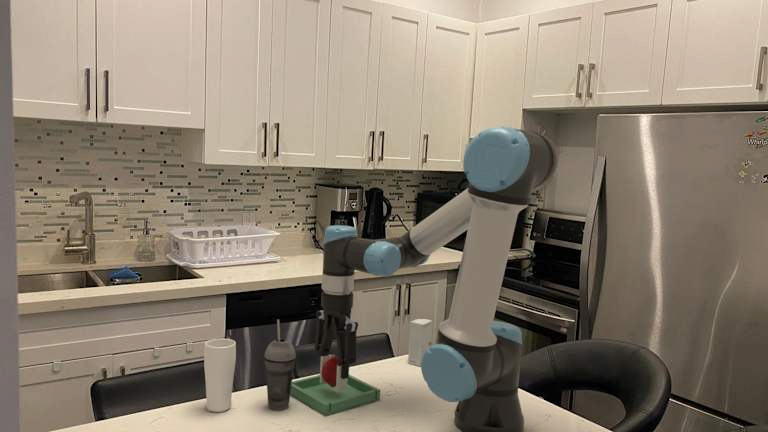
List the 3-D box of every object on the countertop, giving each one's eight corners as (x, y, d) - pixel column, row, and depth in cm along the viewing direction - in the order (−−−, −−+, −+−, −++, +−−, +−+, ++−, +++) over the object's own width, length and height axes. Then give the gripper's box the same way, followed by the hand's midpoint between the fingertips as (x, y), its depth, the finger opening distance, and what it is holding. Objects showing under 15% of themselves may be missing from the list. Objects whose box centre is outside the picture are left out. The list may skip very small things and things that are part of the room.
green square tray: (379, 399, 144) (380, 389, 144) (325, 416, 133) (325, 405, 133) (339, 379, 156) (339, 370, 156) (286, 392, 145) (286, 382, 145)
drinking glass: (217, 417, 130) (219, 349, 129) (196, 408, 134) (197, 343, 132) (240, 407, 136) (242, 342, 134) (219, 399, 139) (221, 336, 138)
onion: (346, 383, 147) (348, 351, 146) (343, 392, 141) (344, 359, 140) (323, 381, 147) (324, 349, 147) (318, 390, 142) (320, 357, 141)
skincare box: (420, 367, 168) (423, 324, 167) (406, 363, 171) (409, 321, 170) (431, 361, 173) (433, 320, 172) (417, 358, 176) (419, 317, 175)
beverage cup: (275, 416, 132) (278, 327, 130) (255, 405, 137) (258, 319, 135) (301, 407, 137) (304, 321, 135) (281, 397, 142) (284, 314, 140)
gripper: (375, 297, 138) (370, 395, 140) (327, 282, 152) (322, 371, 154) (349, 301, 133) (344, 403, 135) (301, 285, 147) (298, 377, 149)
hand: (333, 386), depth 144 cm, fingers closed on onion, 6 cm apart
